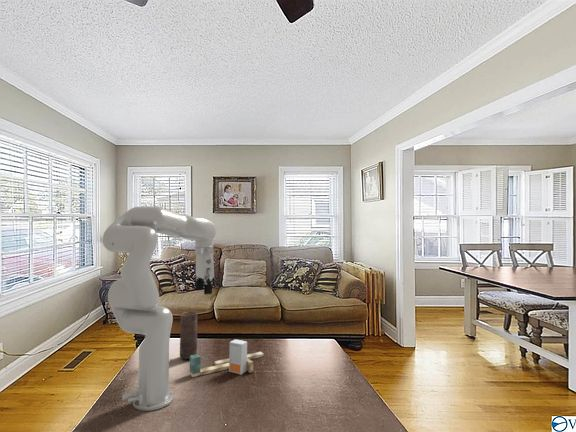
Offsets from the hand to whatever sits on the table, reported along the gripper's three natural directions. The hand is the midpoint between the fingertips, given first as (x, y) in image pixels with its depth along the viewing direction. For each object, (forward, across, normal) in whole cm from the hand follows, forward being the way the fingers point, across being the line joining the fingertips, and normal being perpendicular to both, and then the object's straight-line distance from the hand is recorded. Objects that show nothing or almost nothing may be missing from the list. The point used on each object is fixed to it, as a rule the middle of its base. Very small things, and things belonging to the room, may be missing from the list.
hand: (203, 291), depth 155 cm
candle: (+31, +10, +3) cm, 32 cm away
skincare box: (+31, -14, -9) cm, 35 cm away
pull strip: (+30, -12, -3) cm, 33 cm away
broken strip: (+30, -4, -15) cm, 34 cm away
